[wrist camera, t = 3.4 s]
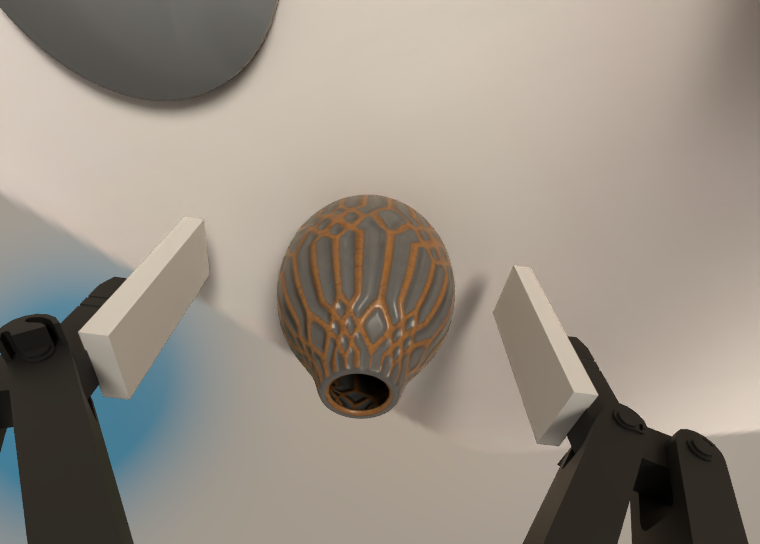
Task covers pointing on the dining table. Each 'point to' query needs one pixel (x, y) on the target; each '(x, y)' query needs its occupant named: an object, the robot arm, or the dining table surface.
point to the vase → (365, 301)
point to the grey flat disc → (148, 41)
